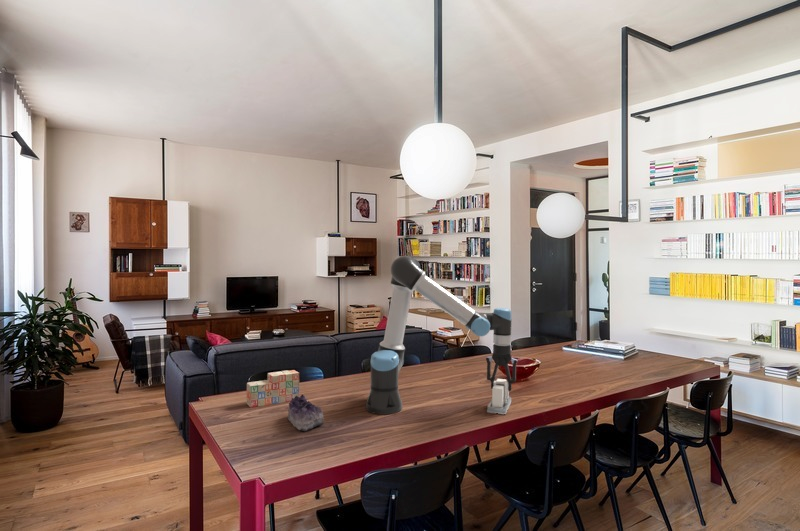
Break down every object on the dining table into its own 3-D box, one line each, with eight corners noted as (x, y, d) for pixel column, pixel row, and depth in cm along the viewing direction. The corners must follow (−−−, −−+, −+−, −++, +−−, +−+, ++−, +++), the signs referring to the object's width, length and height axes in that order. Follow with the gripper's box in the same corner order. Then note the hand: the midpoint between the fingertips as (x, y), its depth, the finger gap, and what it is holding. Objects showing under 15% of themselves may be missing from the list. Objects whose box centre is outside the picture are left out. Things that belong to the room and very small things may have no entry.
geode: (276, 418, 186) (279, 392, 186) (304, 416, 192) (306, 392, 193) (297, 433, 169) (300, 405, 170) (326, 430, 176) (329, 403, 176)
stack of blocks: (250, 408, 197) (250, 378, 197) (246, 403, 202) (246, 375, 202) (299, 399, 209) (299, 372, 208) (294, 396, 214) (294, 369, 214)
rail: (505, 414, 193) (505, 409, 193) (487, 412, 195) (487, 407, 195) (511, 401, 209) (511, 396, 209) (494, 399, 212) (494, 394, 212)
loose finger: (506, 402, 207) (506, 379, 207) (504, 405, 202) (505, 382, 202) (497, 401, 208) (497, 378, 208) (495, 404, 204) (495, 381, 203)
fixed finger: (492, 411, 196) (492, 387, 196) (494, 407, 201) (494, 384, 201) (501, 412, 195) (502, 388, 195) (503, 408, 200) (504, 385, 199)
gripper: (524, 344, 205) (522, 397, 206) (483, 340, 211) (482, 392, 212) (522, 347, 198) (521, 402, 199) (479, 343, 204) (478, 397, 205)
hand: (501, 397), depth 206 cm, fingers open, 5 cm apart
